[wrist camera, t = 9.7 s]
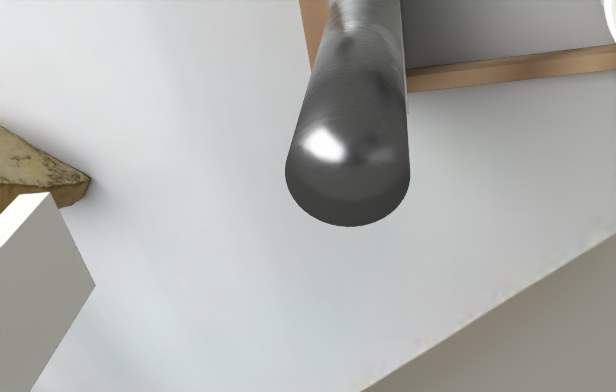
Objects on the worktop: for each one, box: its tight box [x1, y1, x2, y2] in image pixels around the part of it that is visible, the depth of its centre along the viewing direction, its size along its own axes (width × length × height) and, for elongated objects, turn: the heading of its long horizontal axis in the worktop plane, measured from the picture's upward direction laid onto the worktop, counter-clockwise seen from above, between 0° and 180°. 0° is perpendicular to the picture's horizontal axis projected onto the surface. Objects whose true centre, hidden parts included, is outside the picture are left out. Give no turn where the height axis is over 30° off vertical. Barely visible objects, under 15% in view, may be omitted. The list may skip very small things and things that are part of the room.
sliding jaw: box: [285, 0, 410, 227], centre depth 23 cm, size 3×10×22 cm, turn 10°
